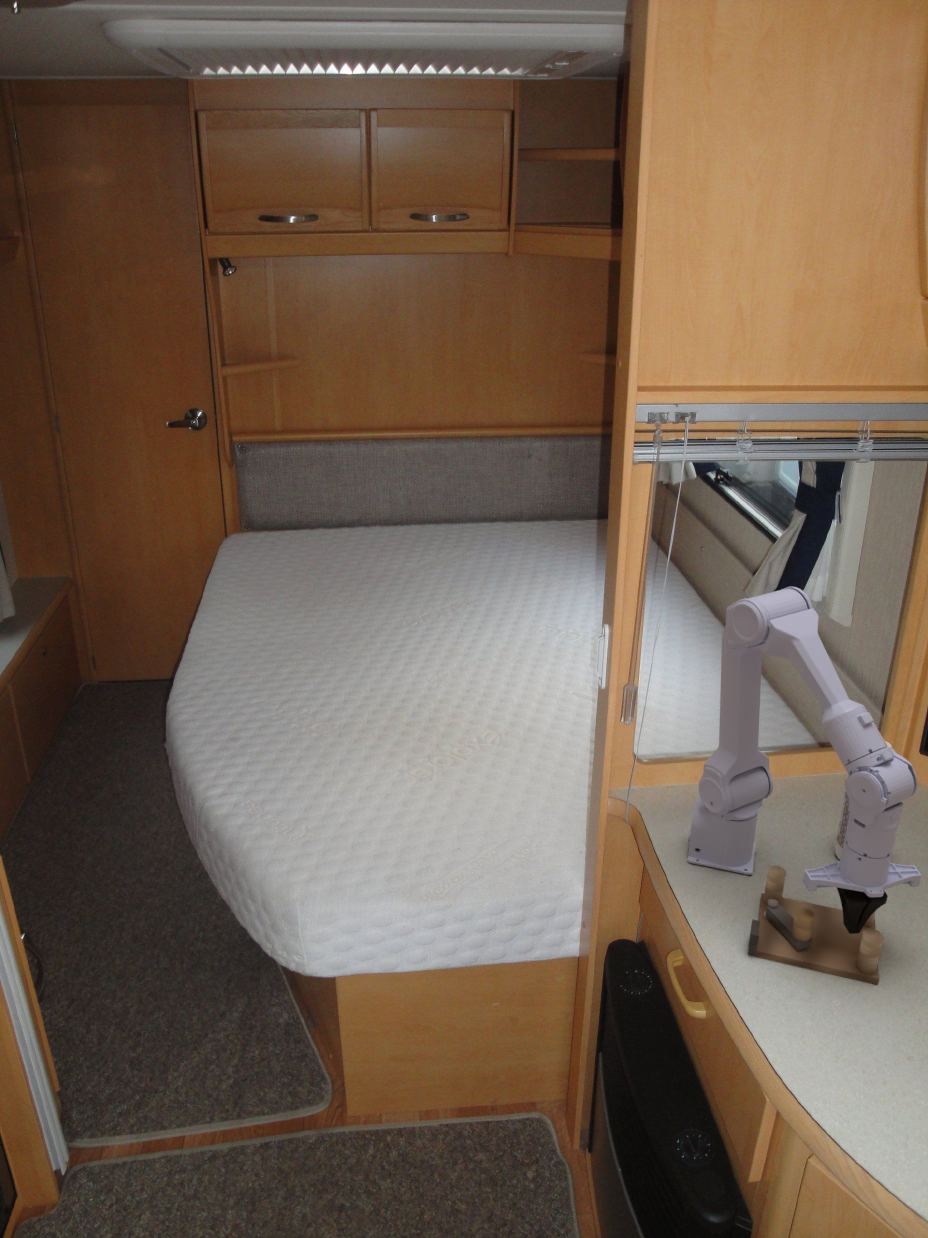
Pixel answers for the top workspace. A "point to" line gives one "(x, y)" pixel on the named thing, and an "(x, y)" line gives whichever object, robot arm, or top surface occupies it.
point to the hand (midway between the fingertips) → (851, 928)
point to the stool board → (816, 938)
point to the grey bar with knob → (792, 923)
